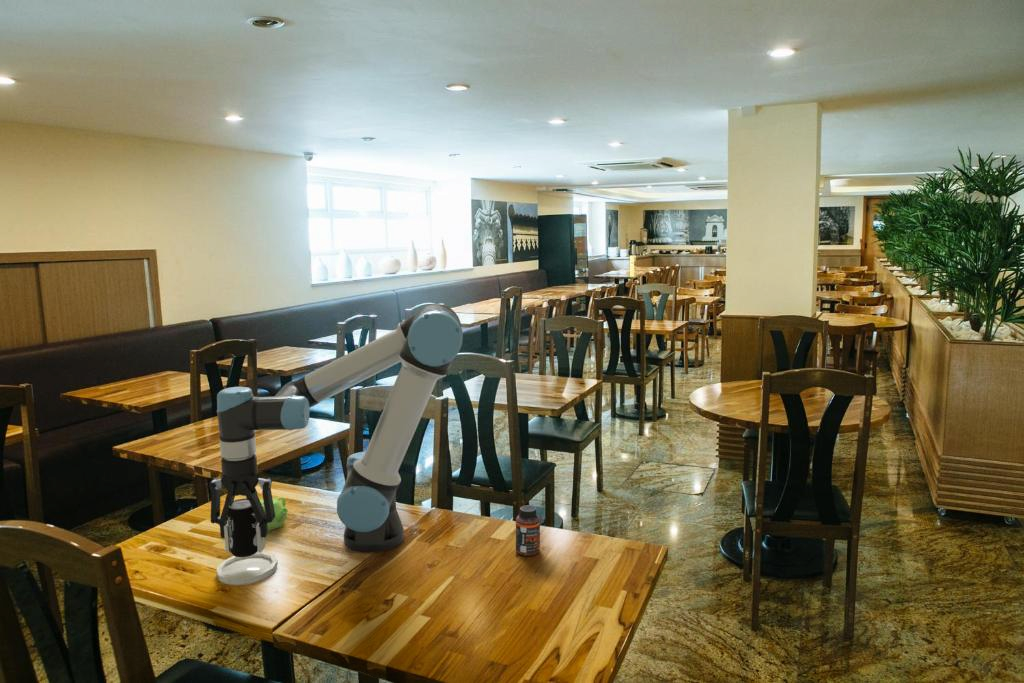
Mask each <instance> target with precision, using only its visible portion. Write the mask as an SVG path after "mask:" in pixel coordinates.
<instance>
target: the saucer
mask: <svg viewBox="0 0 1024 683" xmlns="http://www.w3.org/2000/svg"><path fill="white" fill-rule="evenodd" d="M278 562H279V561H278V558H277V557H276V556H275V554H274V553H273V554H272V553H271V552H267V551H262V552H261V553H258V551H257V553H255V554H254V555H251V556H248V557H236V556H234V555H232V556H230V557H229V558H227V559H225V560H223V561H222V562H221V563H220V564H218V566H217V568H216V575H217V579H218V581H219V582H220V583H222V584H224V585H227V586H238V587H240V586H247V585H252V584H256V583H259V582H261V581H264V580H266V579H268V578H270V577H271V576H272V575H273V574H275V572H276V571H277V569H278V565H279V563H278Z"/></svg>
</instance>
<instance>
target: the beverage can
mask: <svg viewBox="0 0 1024 683" xmlns="http://www.w3.org/2000/svg"><path fill="white" fill-rule="evenodd" d="M227 516H228V521H227V522H228V529H229V542H230V554H232V556H236V557H248V556H251V555H254V554H255V553H257V552H258V549H257V534H256V525H257V524H258V523H259V522H258V520H257V518H256V515H255V513H254V510H253V509H252V505H251V504H250V502H249V500H247V498H246V497H245V498H239V499H234V501H233V503H232V504H231V505H230V506H229V509H228V511H227Z"/></svg>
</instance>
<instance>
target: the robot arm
mask: <svg viewBox="0 0 1024 683" xmlns="http://www.w3.org/2000/svg"><path fill="white" fill-rule="evenodd" d="M463 332H464V331H463V329H462V324H461V320H460V317H459V316H458V314H457V313H456V312H455V310H453V309H452V308H451V307H448V305H444V304H438V303H435V304H430V305H427V306H424V307H423V308H421V309H419V311H417V312H416V313H414V314H412V315H411V316H410V317H408V318H406V319H404V320H402V321H400V322H398V324H397V327H396V329H394V330H391V331H390V332H388V333H386V334H384V335H382V336H380V337H378V338H376V339H374V340H371V342H368V343H366V344H365V345H363V346H361V347H359V348H357V349H355V350H352V351H351V352H348V353H347V354H345V355H343V356H341V357H339V358H337V359H335V360H333V361H331V362H329V363H327V364H325V365H323V366H321V367H319V368H317V369H314V370H313V371H312V372H309V373H307V374H306V375H304V376H302V377H300V378H298V379H293V380H290V381H288V382H287V383H285V384H284V385H283V386H282V387H281V388H280V390H279V391H278V392H277V393H276V394H275V395H274V396H254V394H253V390H252V388H250V387H248V386H247V387H246V386H233V387H225V388H224V389H222V390H220V391H219V392H218V393H217V395H216V408H217V409H216V414H217V423H218V424H217V425H218V435H219V451H220V457H222V458H221V459H220V464H221V473H222V476H221V478H219V479H217V478H214V479H212V480H211V481H210V482H209V484H208V487H209V490H210V493H211V494H210V496H211V497H210V523H211V524H217V525H218V526H219V532H220V537H221V539H224V544H225V546H224V547H225V553H226V554H231V552H230V542H229V529H228V516H227V511H228V509H229V506H230V505H231V504H232V503H233V501H235V497H237V496H243V497H244V496H245V498H247V500H249V502H250V504H251V505H252V509H253V510H254V513H255V515H256V518H257V520H258V522H259V523H258V524H257V525H256V534H257V549H258V551H257V552H258V553H261V552H263V551H264V549H265V547H266V546H265V538H267V536H268V534H269V533H268V526H267V523H271V522H272V521H273V519H274V518H275V511H274V505H273V499H272V498H273V493H272V483H273V479H272V478H270V477H268V478H266V479H265V478H261V477H260V475H259V473H258V459H257V454H255V453H256V452H257V446H256V432H255V431H282V430H284V431H286V430H287V431H294V430H302V429H305V428H306V427H307V426H308V424H309V420H310V408H312V407H315V406H316V405H318V404H320V403H321V402H323V401H326V400H328V399H329V398H331V397H333V396H336V395H337V394H340V393H342V392H344V391H345V390H347V389H350V388H351V387H353V386H355V385H358V384H359V383H362V382H363V381H365V380H367V379H369V378H371V377H372V376H375V375H377V374H379V373H381V372H383V371H386V370H387V369H389V368H391V367H393V366H395V365H397V364H399V363H401V366H400V369H399V372H398V375H397V377H396V379H395V381H394V384H393V386H392V388H391V391H390V392H389V396H388V398H387V401H386V403H385V405H384V407H383V410H382V412H381V414H380V417H379V419H378V422H377V424H376V426H375V429H374V431H373V433H372V436H371V439H370V441H369V443H368V445H367V448H366V450H365V451H359V452H355V453H353V454H350V455H349V456H348V457H347V460H346V468H347V478H346V480H345V481H344V484H343V487H342V490H341V492H340V494H339V496H338V497H337V501H336V514H337V515H338V516H337V517H338V518H339V520H340V522H341V523H342V524H343V525H344V526H345V528H344V532H343V544H344V546H345V547H346V548H347V549H348V550H350V551H352V552H357V553H361V554H373V553H374V554H375V553H376V554H377V553H380V552H381V553H382V552H386V551H389V550H392V549H394V548H396V547H398V546H399V545H401V544H402V542H403V541H404V539H405V529H404V524H403V523H402V520H401V517H400V515H399V512H398V509H397V497H396V496H397V495H396V493H397V490H398V488H399V486H400V484H401V481H402V478H401V475H400V473H399V469H400V468H401V465H402V463H403V460H404V458H405V456H406V453H407V452H408V449H409V446H410V444H411V442H412V439H413V437H414V435H415V432H416V430H417V428H418V426H419V423H420V421H421V418H422V416H423V414H424V413H425V412H424V411H425V409H426V407H427V404H428V402H429V399H430V397H431V395H432V393H433V390H434V389H435V385H436V383H437V381H438V380H440V379H442V378H445V377H447V375H448V373H449V370H450V368H451V366H452V363H453V361H454V359H455V358H456V357H457V355H458V354H459V353H460V350H461V348H462V346H463V342H464V341H463V340H464V334H463ZM257 485H259V486H260V489H261V491H262V492H261V493H262V499H263V501H264V507H265V511H264V509H263V506H262V504H261V502H260V500H261V499H260V498H259V495H258V490H257V488H256V487H257ZM222 487H224V488H225V489H226V491H227V492H226V496H225V501H224V505H223V508H222V512H221V498H222V497H221V488H222Z"/></svg>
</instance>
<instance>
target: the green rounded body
mask: <svg viewBox="0 0 1024 683" xmlns="http://www.w3.org/2000/svg"><path fill="white" fill-rule="evenodd" d="M272 499H273V505H274V511H275V518H274V519H273V521H272V522H271V523H267V526H268V534H270V533H272V531H271V530H274V529H276V528H284V523H285V522H286V521H287V519H288V518H287V517H288V515H287V513H288V512H289V510H288V508H287V507H286V499H285V497H283V496H278V497H275V498H274V497H272ZM259 500H260V502H261V504H262V506H263V509H264V511H265V507H264V501H263V498H262V499H259ZM280 500H281V501H280Z"/></svg>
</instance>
